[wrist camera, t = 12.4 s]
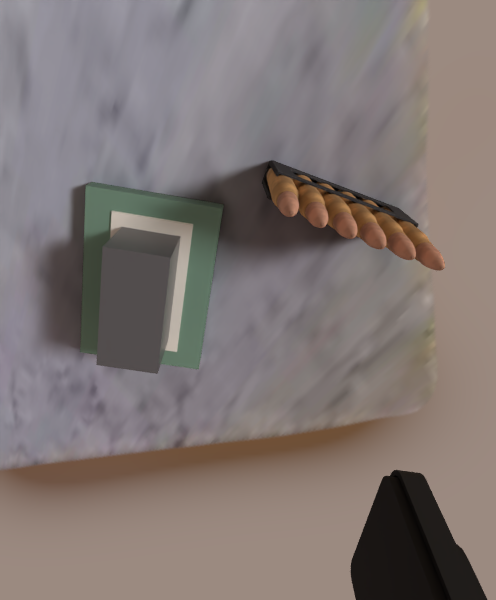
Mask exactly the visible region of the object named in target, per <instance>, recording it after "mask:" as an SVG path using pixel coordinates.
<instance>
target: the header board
mask: <svg viewBox="0 0 496 600" xmlns="http://www.w3.org/2000/svg"><path fill="white" fill-rule="evenodd" d="M223 206H224V204H218V203H212V202H206V201H200V200H195V199H189V198H183V197H177V196H171V195H165V194H159V193H153V192H148V191H142V190H136V189H130V188H124V187H118V186H112V185H107V184H101V183H95V182H91V183H89V184H88V185H86V190H85V221H84V252H83V284H82V315H81V346H80V352H83V353H90V354H97V347H98V327H99V308H100V288H101V269H102V249H103V246H104V245H105V244H106V243H107V242H108V240H109V239H110V238H111V237H112V236H113V235H114V234H115V233H116V232H117V231H118V230H119V229H120V228H121V227H127V228H133V229H139V230H145V231H151V232H157V233H163V234H169V235H175V236H181V238H180V246H179V254H178V263H177V271H176V279H175V288H174V296H173V304H172V313H171V321H170V329H169V338H168V343H167V346H166V349H165V352H164V355H163V358H162V361H161V364H165V365H172V366H179V367H186V368H193V369H199V364H200V358H201V351H202V345H203V338H204V331H205V325H206V318H207V311H208V305H209V298H210V292H211V285H212V278H213V272H214V265H215V259H216V252H217V245H218V239H219V232H220V225H221V219H222V212H223Z"/></svg>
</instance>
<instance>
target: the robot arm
mask: <svg viewBox="0 0 496 600" xmlns="http://www.w3.org/2000/svg"><path fill="white" fill-rule="evenodd" d="M351 578H352V584H353V588H354V593H355V598H356V600H487V598H486V596H485V594H484V592H483V590H482V587H481V585H480V583H479V581H478V579H477V577H476V575H475V573H474V571H473V569H472V566H471V564H470V562H469V560H468V558H467V556H466V555H465V553H464V551H463V550H462V548H460V547H459V546H458V545H457V544H456V543H455V541H454V539H453V537H452V535H451V533H450V530H449V528H448V526H447V524H446V522H445V519H444V517H443V515H442V513H441V511H440V509H439V507H438V504H437V502H436V500H435V498H434V496H433V494H432V491H431V490H430V487H429V485H428V483H427V481H426V479H425V477H424V476H423V475H422V474H421V473H414V472H407V471H400V470H394V471H393V472H392V473H391V475H390V476H384V477H383V479H382V481H381V484H380V486H379V489H378V492H377V494H376V497H375V500H374V503H373V505H372V508H371V511H370V513H369V516H368V518H367V521H366V524H365V526H364V529H363V532H362V534H361V537H360V540H359V542H358V545H357V548H356V550H355V553H354V556H353V558H352V562H351Z"/></svg>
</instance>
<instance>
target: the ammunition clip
mask: <svg viewBox="0 0 496 600" xmlns="http://www.w3.org/2000/svg"><path fill="white" fill-rule="evenodd" d="M262 184H263V186H264V189H265V192H266V195H267V198H268V199H271V200H272V201H273V202H274V204H275V205H276V206H277V207H278V208H279V210H280V212H281V213H282V214H283V215H285V216H287V217H293V216H294V215H296V214H297V212H298V210H299V211H300V213H301V215H303V216H304V217H305V218H306V219H308V221H309V222H310V223H311V224H312V225H313V226H315V227H318V228H323V227H325V226H326V225H327V224H328V225H329V226H330V227H332V228H334V229H335V230H336V231H337V232H338V233H339V234H340V235H341V236H343V237H345V238H348V239H352V238H354V237H356V236H357V237H359V238H361V239H362V240H363V241H364V242H365V243H367V244H368V245H369V246H371V247H373V248H375V249H383V248H385V247H387V248H388V249H389V250H391V251H392V252H393V253H394V254H395V255H397V256H399V257H400V258H403V259H406V260H413V259H414V258H415V259H416V260H418V261H419V262H421V263H422V264H423V265H424V266H426V267H428V268H431V269H433V270H443V269H444V268H445V262H444V259H443V257H442V255H441V254H440V252H439V251H438V250H437V249H436V248H435V247H434V246H433V245H432V244H431V243H430V242H429V240H428V238H427V236H426V235H425V234H424V233H423V232H421V231H420V230H419V229H418V228H417V227H418V223H416V222H415V221H414V220H413V219H411V218H410V217H409V216H408V215H407V214H405V213H404V212H403V211H402V210H400V209H399V208H397V207H394V206H392V205H389V204H386V203H384V202H381V201H378V200H376V199H373V198H371V197H368V196H365V195H363V194H360V193H357V192H355V191H352V190H349V189H347V188H344V187H342V186H339V185H336V184H334V183H331V182H328V181H326V180H323V179H320V178H318V177H315V176H313V175H310V174H307V173H305V172H302V171H299V170H297V169H294V168H291V167H289V166H286V165H284V164H281V163H278V162H276V161H270V162H269V165H268V168H267V170H266V173H265V176H264V178H263V181H262Z"/></svg>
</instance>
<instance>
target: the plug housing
mask: <svg viewBox="0 0 496 600" xmlns="http://www.w3.org/2000/svg"><path fill="white" fill-rule="evenodd" d="M180 238H181V236H175V235H169V234H163V233H157V232H151V231H145V230H139V229H133V228H127V227H121V228H120V229H119V230H118V231H117V232H116V233H115V234H114V235H113V236H112V237H111V238H110V239H109V240H108V242H107V243H106V244H105V245H104V246H103V249H102V269H101V288H100V308H99V327H98V347H97V365H101V366H108V367H115V368H122V369H129V370H136V371H142V372H149V373H156V374H158V371H159V367H160V364H161V361H162V358H163V355H164V352H165V349H166V346H167V343H168V338H169V329H170V321H171V313H172V304H173V296H174V288H175V279H176V271H177V263H178V254H179V246H180Z"/></svg>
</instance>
